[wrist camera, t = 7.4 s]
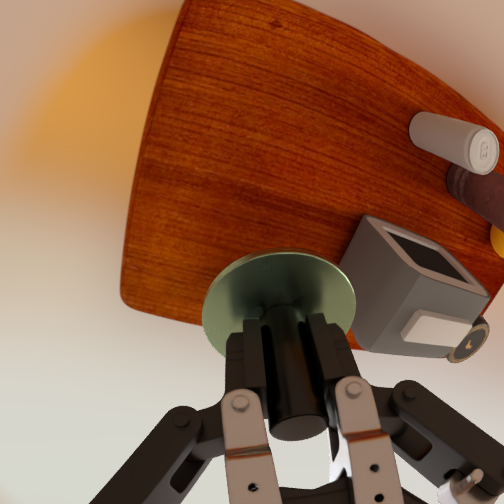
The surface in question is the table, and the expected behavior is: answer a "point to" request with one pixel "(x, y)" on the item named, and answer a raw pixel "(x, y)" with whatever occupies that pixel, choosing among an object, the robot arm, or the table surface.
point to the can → (479, 193)
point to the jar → (470, 341)
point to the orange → (497, 240)
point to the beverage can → (456, 141)
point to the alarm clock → (408, 292)
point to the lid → (282, 327)
